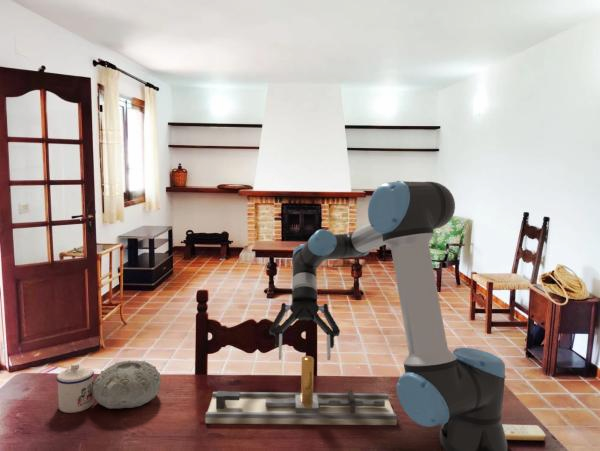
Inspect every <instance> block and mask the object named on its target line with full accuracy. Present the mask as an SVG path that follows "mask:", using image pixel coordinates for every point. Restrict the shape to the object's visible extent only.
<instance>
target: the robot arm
mask: <svg viewBox="0 0 600 451" xmlns="http://www.w3.org/2000/svg"><path fill="white" fill-rule="evenodd" d="M371 195H372V196H371V197H370V199H369V202H368V208H367V217H368V222H369V223H368V224H365V225H363V226H361V227H359V228H357V229H355V230H353V231H351V232H349V233H340V234H334V233H333V232H332V231H330V230H327V229H324V228H323V229H322V228H321V229H320V228H319V229H318V230H316V231H315V232H314V233H313V234H312V235H311V236H310V237H309V239H308V240H307V242H306V243H304V244H303V243H302V244H299V245H298V246H296V247H294V248H293V252H292V257H291V258H292V261H291V262H292V282H291V283H292V286H291V287H292V288H291V289H292V292H291V293H292V294H291V304H286V303H285V302H283V303H281V307H280V310H279V312H278V314H277V315H276V317H275V318H274V320H273V322H272V324H271V325H270V327H269V335H270V336H274V346H275V348H278V360H282V356H283V354H282V349H283V334H284V332H285V331H286V330H287V329H288V328H289V327H290V326H291V325H292V324H293V323H294V322H295V321H296V320H298V321H310V320H312V321H313V322H314V323H316V325H318V327H319V328H320V329H321V330H322V331H323V332H324V333H325V334H326V358H327V359H326V361H331V349H334V346H335V337H339V336H340V332H341V330H340V328H339V326H338V324H337V323H336V320H335V319H334V318H333V316H332V314H331V312H330V311H329V307H328V303H324V304H323V305H319V304H318V292H317V290H318V289H317V288H318V287H317V286H318V283H317V282H318V281H317V280H318V279H317V271H318V270H317V269H318V267H320V266H321V264H323V262H324V261H326V260H327V261H328V260H329V261H330V260H335V259H336V260H337V259H346V258H361V257H364V256H367V255H369V253H370V252H371V251H372V250H374V249H378V248H380V247H383V246H386V247H388V248H389V249H390V251H391V256H392V262H393V267H394V273H395V274H394V275H395V279H396V286H397V292H398V298H399V303H400V310H401V316H402V321H403V322H402V323H403V327H404V328H403V329H404V334H405V338H406V345H407V350H408V354H407V356H406V358H405V359H404V360H403V367H404V368H403V369H404V373H403V374H402V375H401V376H400V377H399V378H398V382H397V383H396V395H397V398H398V401H399V403H400V406H401V407H402V409H403V410H404V412H405V413H406V415H408V417H409V418H410V419H411V421H413V422H414V423H416V424H417V425H419V426H422V427H427V428H429V427H430V428H433V427H435V426H441V427H440V433H439V443H440V445H441V447H442V448H443V450H444V451H508V441H507V438H506V433H505V430H504V426H503V422H502V413H503V402H504V401H503V400H504V392H505V390H504V389H505V381H506V377H507V376H506V364H505V362H504V361H503V359H501V358H500V357H499V356H497V355H495V354H493V353H490V352H488V351H486V350H485V351H484V350H482V349H478V348H472V347H471V348H470V347H457V348H455V349H454V350H453V352H452V351H450V350H449V348H448V344H447V336H446V332H445V326H444V321H443V315H442V309H441V303H440V298H439V293H438V288H437V282H436V276H435V271H434V266H433V261H432V260H433V259H432V254H431V250H430V249H431V248H430V242H431V240H432V239H433V237H434V236H435V235H434V234H435V232H434V230H437V229H440V228H442V227H445V226H446V225H447V224H448V223H449V222H450V221H451V220H452V218H453V216H454V214H455V210H456V202H455V198H454V195H453V194H452V193H451V191H450V189H449V188H448V187H446V186H445V185H443V184H441V183H439V182H436V181H403V180H397V181H392V182H391V181H390V182H388V181H387V182H384V183H382V184H380V185H379V186H378V187H377V188H375V190H374V191H373V193H372V194H371ZM289 311H290V312H291V314H289V316H288V317H287V318H286V319H285V321H284V322H282V320H283V318H284V316H285V314H286V313H288V312H289ZM319 311H320V312H321V314H323V316H324V317H325V320H326V322H325V321H324V319H322V318H321V316H320V315H319V313H318V312H319ZM281 322H282V323H281ZM280 323H281V325H280ZM327 323H328V324H329V325H328V324H327Z"/></svg>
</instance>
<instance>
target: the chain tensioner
mask: <svg viewBox="0 0 600 451" xmlns="http://www.w3.org/2000/svg"><path fill="white" fill-rule="evenodd" d="M314 366H315V359H314V357H313V356H311V355H304V356H302V357H301V371H300V372H301V378H300V386H301V387H300V393H301V395H295V399H266V406H265V407H296V412H319V406H350V400H318V398H317V395H313V393H314V369H315V368H314ZM355 406H361V407H362V406H374V407H385V400H355Z"/></svg>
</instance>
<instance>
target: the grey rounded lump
mask: <svg viewBox="0 0 600 451" xmlns="http://www.w3.org/2000/svg"><path fill="white" fill-rule="evenodd" d="M161 386H162V378H161V372H159V370H158V369H157V367H156V366H155V365H153V364H151V363H149V362H147V361H145V360H124V361H119V362H115V363H114V364H112V365H110V366H108V367H107V368H105V369H104V370H101V371H100V373H99V375H98V376H97V377H96V378H95V381H93V388H92V392H93V396H94V400H96V402H97V403H98V404H99V405H100V406H103V407H105V408H106V409H109V410H110V409H117V410H118V409H125V408H126V409H129V408H130V409H132V408H137V407H142V406H143V405H145V404H147V403H149V402H150V401H152V400H153V399H155V397H156V396H157V394H158V393H159V391H160V390H161Z"/></svg>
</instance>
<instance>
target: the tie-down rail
mask: <svg viewBox="0 0 600 451" xmlns="http://www.w3.org/2000/svg"><path fill="white" fill-rule="evenodd" d="M295 395H301V392H279V391H278V392H275V391H274V392H272V391H271V392H269V391H268V392H265V391H264V392H263V391H262V392H261V391H260V392H259V391H252V392H251V391H226V390H217V391H213V392H212V397H211V400H210V403H209V406H208V409H207V411H206V412H205V424H223V425H224V424H226V425H227V424H228V425H229V424H233V425H235V424H236V425H238V424H241V425H242V424H247V425H250V424H252V425H332V426H333V425H334V426H335V425H340V426H341V425H342V426H343V425H344V426H345V425H351V426H354V425H355V426H356V425H357V426H359V425H360V426H361V425H362V426H364V425H366V426H397V424H398V422H397V420H398V419H397V417H398V416H397V414H396V413H395V412H394V410H393V407H392V405H391V402H390V399H389V393H364V392H363V393H361V392H358V393H355V392H353V390H348V391H347V393H346V392H343V393H341V392H338V393H337V392H313V395H317V398H318V400H350V406H319V412H296V407H265V406H266V399H295ZM355 400H385V407H374V406H362V407H361V406H355Z"/></svg>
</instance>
